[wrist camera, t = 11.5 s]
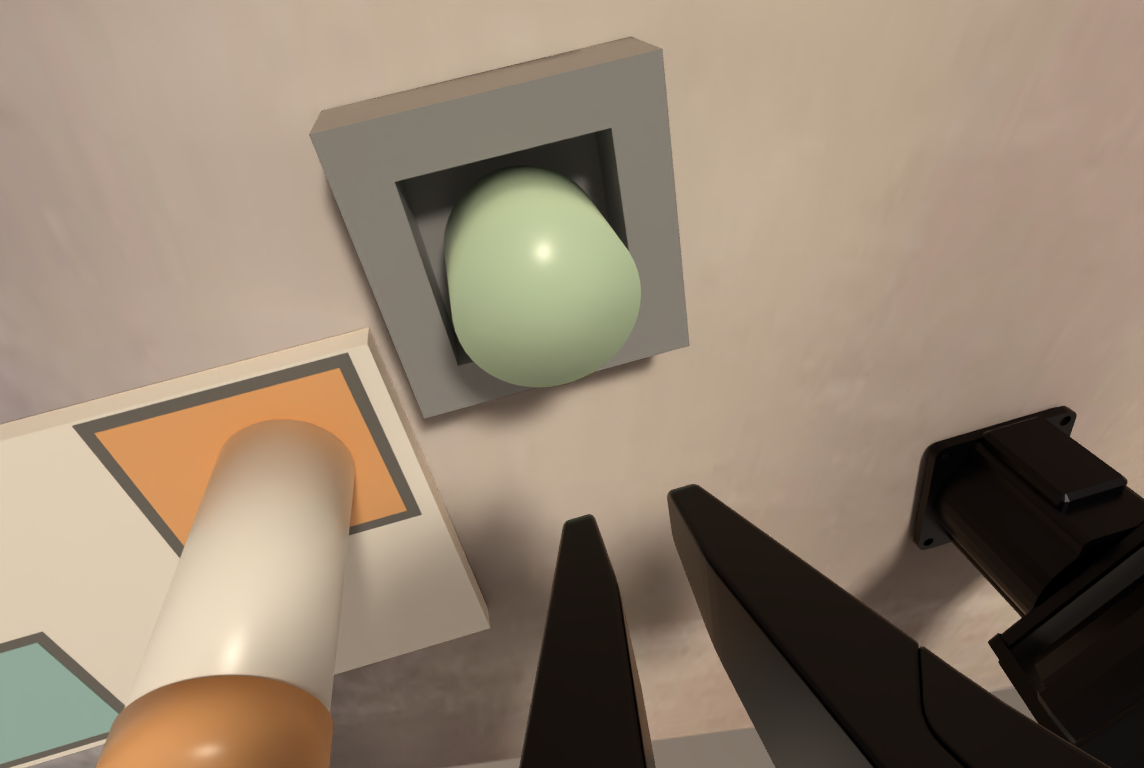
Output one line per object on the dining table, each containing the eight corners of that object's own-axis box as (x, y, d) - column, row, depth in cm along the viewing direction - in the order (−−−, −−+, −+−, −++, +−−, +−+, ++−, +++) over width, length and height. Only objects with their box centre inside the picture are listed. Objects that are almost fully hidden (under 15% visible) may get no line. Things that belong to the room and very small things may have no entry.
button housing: (662, 307, 21) (689, 345, 19) (422, 372, 21) (424, 418, 19) (631, 36, 17) (662, 49, 15) (321, 111, 16) (309, 134, 14)
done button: (612, 295, 19) (650, 360, 16) (468, 334, 18) (480, 406, 15) (587, 146, 16) (627, 190, 13) (422, 188, 16) (425, 242, 13)
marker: (377, 498, 22) (358, 830, 14) (253, 533, 22) (158, 892, 13) (326, 400, 19) (266, 734, 11) (185, 438, 19) (19, 808, 11)
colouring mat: (487, 608, 28) (490, 629, 27) (-21, 759, 26) (-35, 786, 25) (368, 327, 20) (367, 344, 19) (-376, 523, 18) (-415, 552, 17)
